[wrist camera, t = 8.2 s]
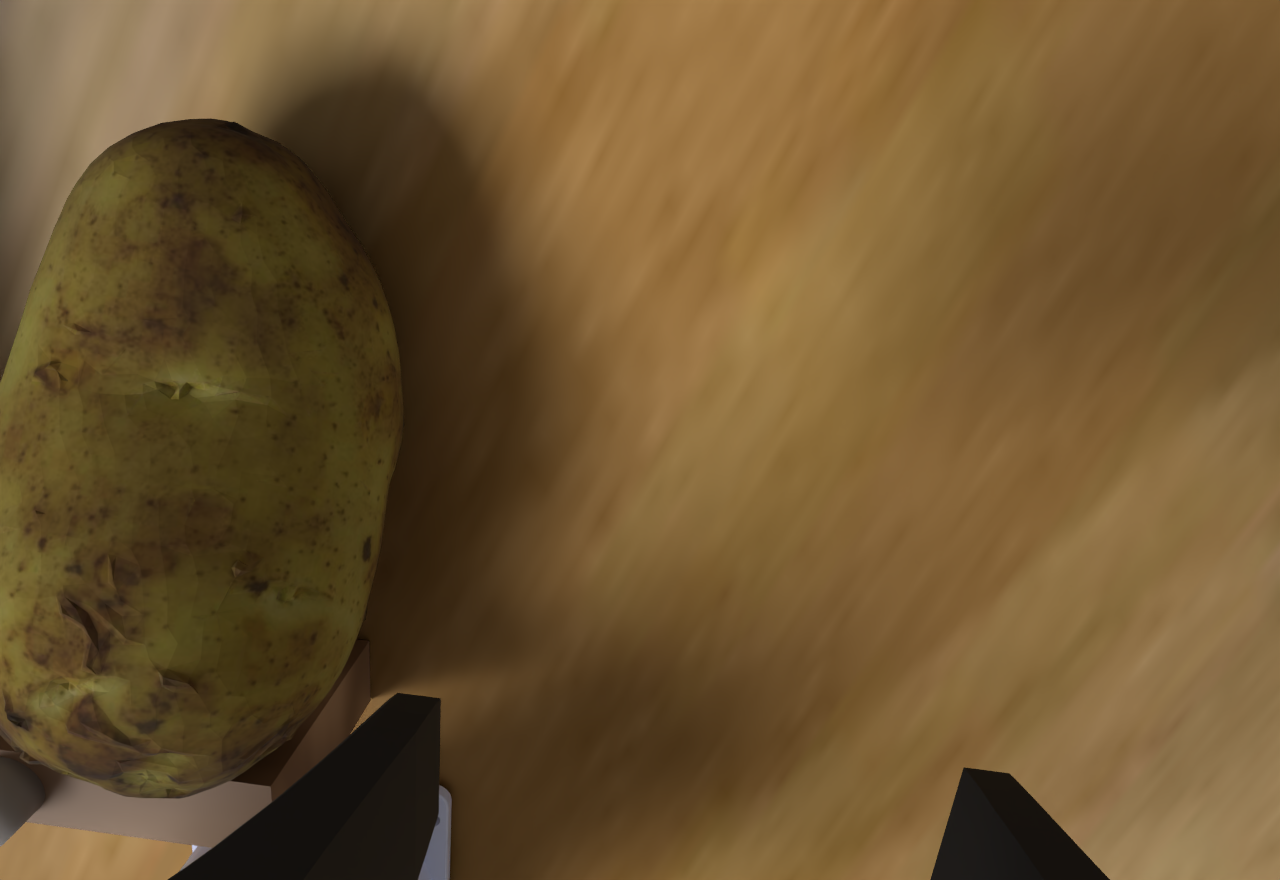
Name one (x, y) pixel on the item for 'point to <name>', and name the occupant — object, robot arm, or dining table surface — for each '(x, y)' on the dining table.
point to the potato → (190, 463)
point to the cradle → (34, 793)
